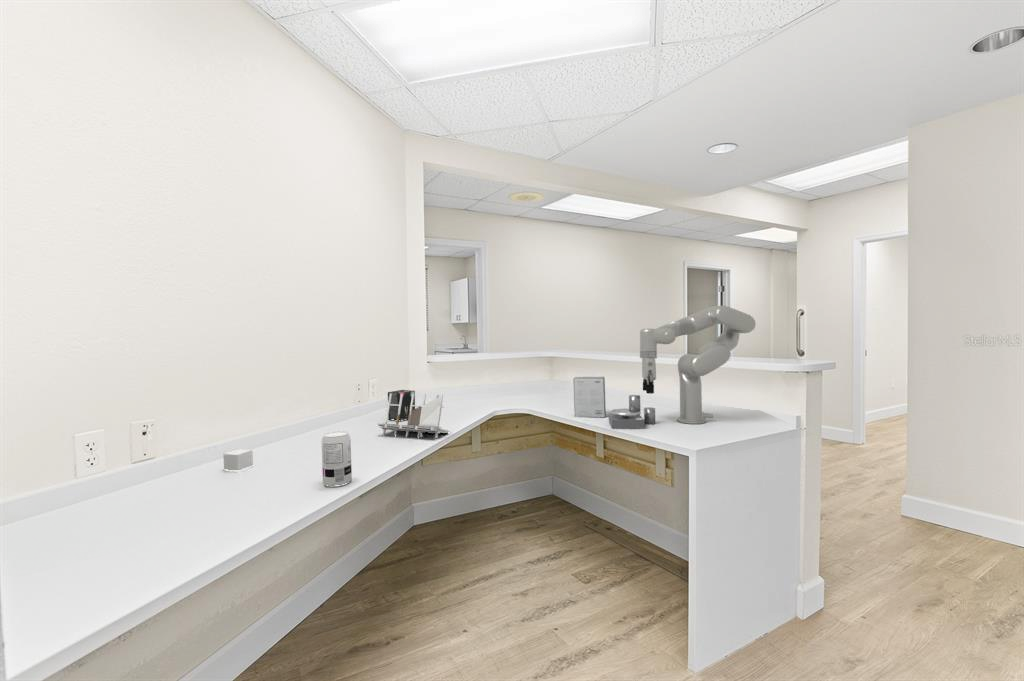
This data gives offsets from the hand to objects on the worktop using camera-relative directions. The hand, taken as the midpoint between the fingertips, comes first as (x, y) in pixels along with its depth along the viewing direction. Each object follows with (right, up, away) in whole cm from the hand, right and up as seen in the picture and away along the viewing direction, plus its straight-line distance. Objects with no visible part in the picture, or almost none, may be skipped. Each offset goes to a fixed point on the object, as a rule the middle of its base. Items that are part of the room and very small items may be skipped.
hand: (648, 391), depth 210 cm
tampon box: (-121, -17, +25) cm, 124 cm away
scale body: (-11, -15, -3) cm, 19 cm away
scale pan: (-11, -11, -3) cm, 16 cm away
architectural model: (-106, -18, -12) cm, 109 cm away
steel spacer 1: (-7, -8, -4) cm, 12 cm away
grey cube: (-156, -20, -56) cm, 167 cm away
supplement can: (-116, -20, -73) cm, 139 cm away
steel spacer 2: (+1, -15, 0) cm, 15 cm away
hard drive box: (-23, -15, +21) cm, 35 cm away
